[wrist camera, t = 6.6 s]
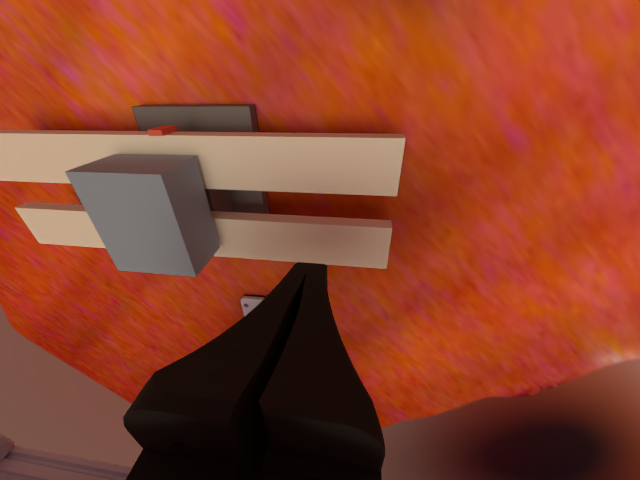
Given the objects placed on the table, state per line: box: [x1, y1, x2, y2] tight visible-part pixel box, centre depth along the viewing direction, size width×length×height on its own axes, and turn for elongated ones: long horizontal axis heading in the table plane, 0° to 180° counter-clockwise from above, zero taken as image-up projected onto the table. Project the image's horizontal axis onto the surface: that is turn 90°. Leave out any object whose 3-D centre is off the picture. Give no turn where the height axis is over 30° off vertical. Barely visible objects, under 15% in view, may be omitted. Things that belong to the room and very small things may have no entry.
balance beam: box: [0, 104, 406, 269], centre depth 19 cm, size 26×10×5 cm, turn 91°
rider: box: [65, 154, 220, 277], centre depth 16 cm, size 5×6×4 cm
